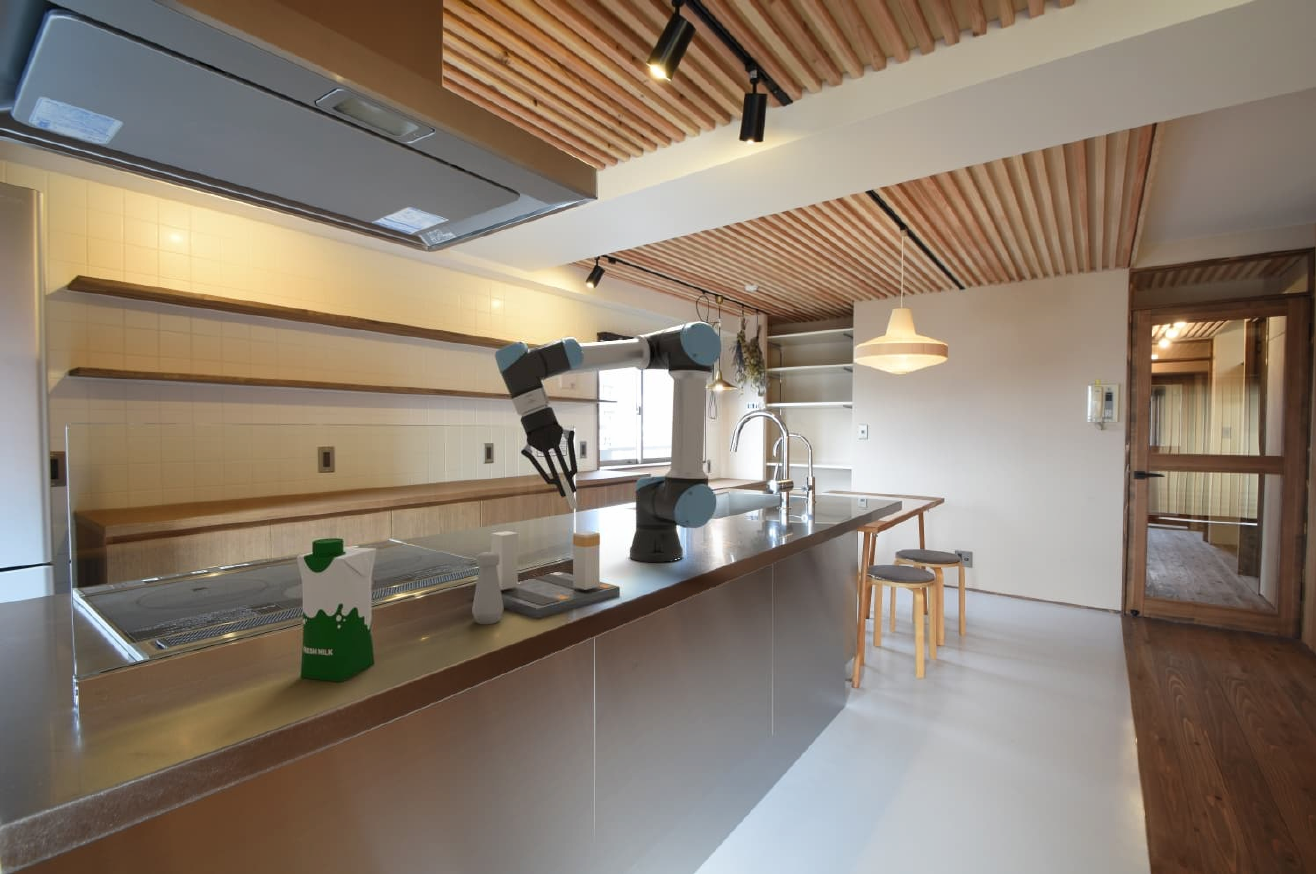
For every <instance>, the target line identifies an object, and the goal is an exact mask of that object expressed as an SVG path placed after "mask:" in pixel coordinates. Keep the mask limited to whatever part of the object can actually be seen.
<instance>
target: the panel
mask: <svg viewBox="0 0 1316 874" xmlns="http://www.w3.org/2000/svg"><path fill="white" fill-rule="evenodd" d="M558 571H559V570H558ZM620 588H621V587H620V586H618V585H615V584H611V583H607V582H603V581H599V586H598V587H594V588H590V589H587V590H584V589H581V588H577V587H573V574H571V573H567V572H564V571H559V572H554V573H550V574H546V575H543V576H539V577H535V578H533V579H528V580H524V581H520V582H518V586H517V587H513V588H509V589H504V590H500V591H501V596H502V601H503V609H507V610H510V611H512V612H513V611H514V612H515V613H519V614H520V615H521V614H522V615H524V616H526V617H530V618H533V619H535V618H536V620H539V619H543V618H547V617H550V616H553V615H556V614H557V615H558V614H561V613H564V612H567V611H571V609H572V610H574V608H575V609H578V608H582V607H585V606H589V605H592V604H595V603H599V601H600V602H603V601H606V600H610V599H613V598H617V597H620V596H621V595H620V594H621V589H620ZM619 595H620V596H619ZM546 616H547V617H546Z"/></svg>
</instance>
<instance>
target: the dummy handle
mask: <svg viewBox="0 0 1316 874" xmlns="http://www.w3.org/2000/svg"><path fill="white" fill-rule="evenodd" d="M490 537H491V538H490V540H491V541H490V542H491V544H490V545H491V546H490V548H491V549H490V552H496V553H498V554H499V558H500V560H499V564H498V565H496V567H497V573H498V579H499V585H500V590H504V589H509V588H513V587H517V586H518V579H519V533H518V532H513V531H510V530H506V531H504V530H503V531H499V532H492V533H491V536H490Z"/></svg>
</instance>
